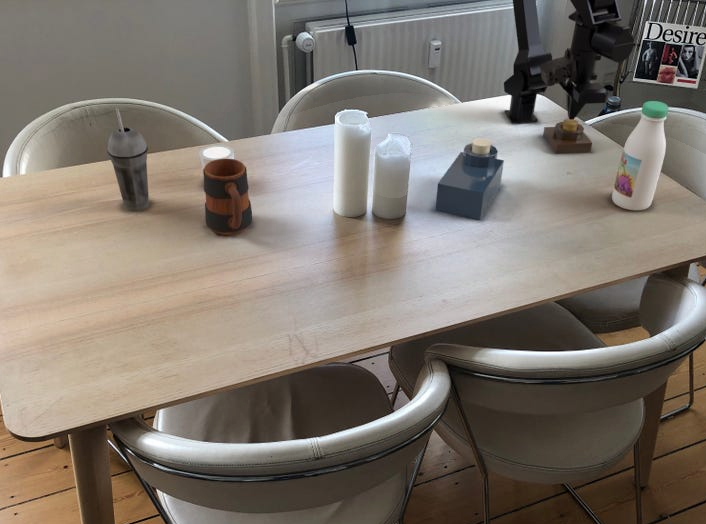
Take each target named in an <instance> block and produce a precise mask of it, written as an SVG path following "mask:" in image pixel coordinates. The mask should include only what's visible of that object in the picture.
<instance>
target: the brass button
mask: <svg viewBox="0 0 706 524" xmlns="http://www.w3.org/2000/svg"><path fill="white" fill-rule="evenodd" d="M562 122H563V125H562V129H564V130H568V131H575V130H577V125H578V124H579V121H578V120H577V119H576V118H574V119H573V120H570V119H569V118H564V119H563V120H562Z"/></svg>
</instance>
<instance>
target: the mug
mask: <svg viewBox="0 0 706 524" xmlns="http://www.w3.org/2000/svg"><path fill="white" fill-rule="evenodd" d="M202 174H203V191H204V193H205V203H204V217H205V224H206V226H207V227H208V228H209V229H210V230H211V231H212V232H213V233H215V234H217V235H222V236H234V235H239V234H242V233H245V232H246V231H247V230H248V229H249V228H250V226H251V224H252V223H253V209H252V204H251V200H250V197H249V189H250V187H249V181H248V180H249V179H248V172H247V166H246V165H245V164H244V162H242V161H240V160H238V159H235V158H234V159H217V160H213V161H211V162H209V163H208V164H206V166H205V167H204V169H202Z"/></svg>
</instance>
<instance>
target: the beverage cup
mask: <svg viewBox="0 0 706 524" xmlns="http://www.w3.org/2000/svg"><path fill="white" fill-rule="evenodd" d="M115 113H116V115H117V121H118V125H119V128H117V129H116V130H114V131H113V132H112V133H111V135H110V136H109V138H108V143H107V154H108V156H109V159H110V162H111V163H112V167H113V170H114V173H115V177H116V181H117V184H118V188H119V192H120V196H121V200H122V201H123V205H124V208H125V209H126V210H128V211H130V212H140V211H144V210H145V209H147V208H149V205H150V204H149V197H150V196H149V182H148V163H147V161H148V151H149V148H148V145H147V142H146V140H145V137H143V135H142V134H141V132H139V131H138V130H136V129H134V128H132V127H127V126H125V127H124V126H123V125H124V124H123V122H122V121H123V120H122V117H121V113H120V109H119V107H115Z"/></svg>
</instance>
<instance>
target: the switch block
mask: <svg viewBox="0 0 706 524" xmlns="http://www.w3.org/2000/svg"><path fill="white" fill-rule="evenodd" d="M562 125H563V121H560V122H556V123H555V125H554V126H544V127H543V133H542V137H543V138H544V140H545V141H546V143H547V144H548V146H549V147H550V148H551V149H552V151H553V152H554V154H556V155H557V154H578V153H579V154H580V153H591V152H592V148H593V142H592V140H591V139H590V138H589V137H588V136H587V134H586V133H585V132H584V131H585V128H584V126H583V125H582V124H580V123H578V125H577V130H575V131H568V130H564V129H562Z"/></svg>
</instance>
